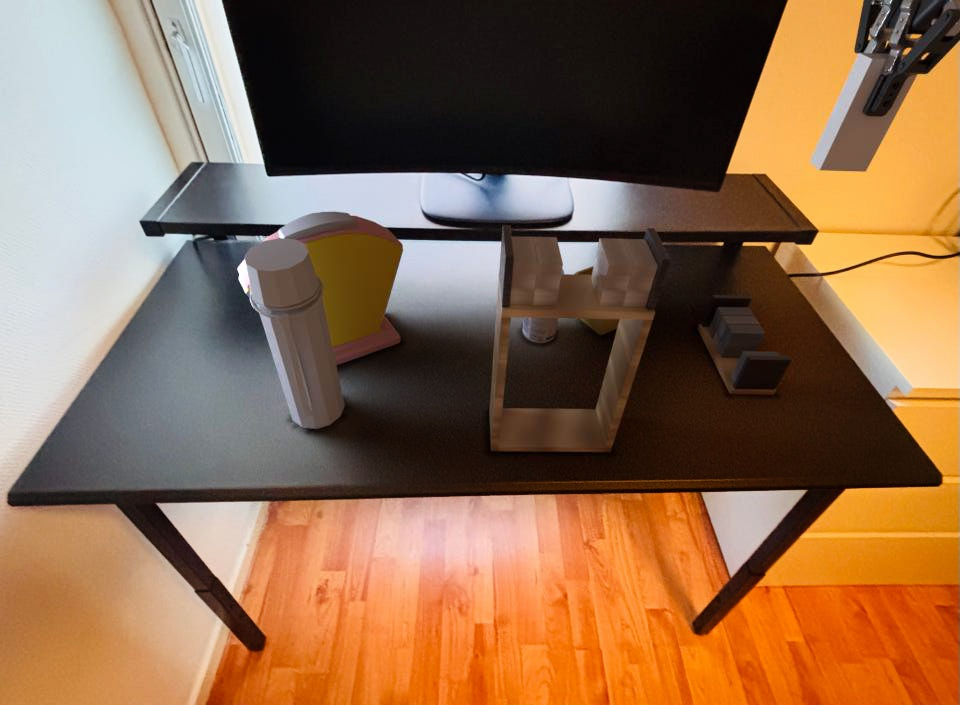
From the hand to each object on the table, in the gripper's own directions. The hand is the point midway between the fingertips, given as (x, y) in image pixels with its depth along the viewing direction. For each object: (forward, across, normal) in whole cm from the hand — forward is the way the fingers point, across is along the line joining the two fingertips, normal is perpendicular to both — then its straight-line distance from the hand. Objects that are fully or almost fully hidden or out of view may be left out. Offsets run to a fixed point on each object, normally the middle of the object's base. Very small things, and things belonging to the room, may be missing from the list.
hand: (865, 109), depth 55 cm
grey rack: (+38, +3, -1) cm, 39 cm away
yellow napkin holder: (+39, +5, +60) cm, 72 cm away
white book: (+6, 0, 0) cm, 6 cm away
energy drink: (+39, +9, +29) cm, 49 cm away
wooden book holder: (+16, -12, +30) cm, 36 cm away
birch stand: (+38, -12, +30) cm, 50 cm away
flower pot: (+39, +12, +18) cm, 44 cm away
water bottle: (+39, -10, +61) cm, 73 cm away
